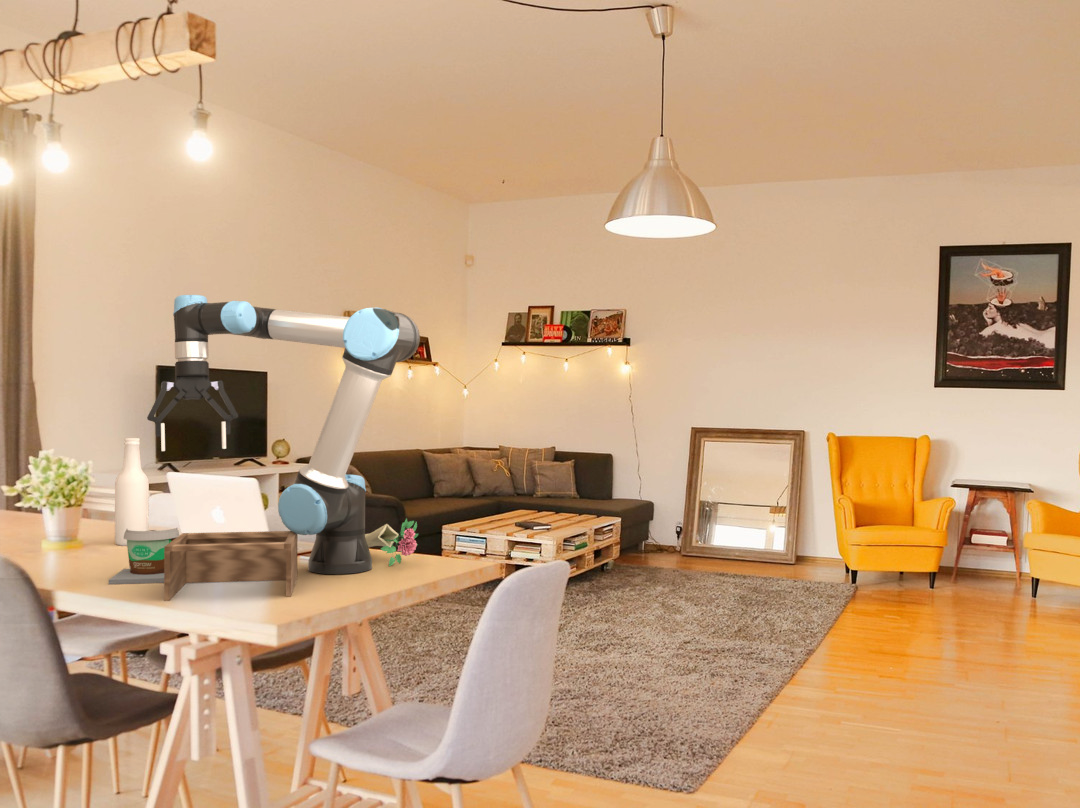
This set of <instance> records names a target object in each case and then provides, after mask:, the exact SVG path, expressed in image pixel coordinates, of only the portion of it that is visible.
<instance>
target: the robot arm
mask: <svg viewBox="0 0 1080 808" xmlns="http://www.w3.org/2000/svg"><path fill="white" fill-rule="evenodd" d="M173 300H174V302H173V303H174V304H173V314H172V315H173V322H174V323H173V325H174V359H175V360H177V361H175V363H174V370H175V371H174V372H175V373H174V374H175V377H174V378H175V380H174V382H170V381H166V380H163V381H162V382H161V386H160V392H159V393H158V396H157V397H156V399H155V401H154V403H153V405H152V406H151V409H150V411H149V413H148V415H147V417H146V418H147V419H146V420H148V421H150V422H153V423H154V424H155V436H156V438H160V441H161V442H160V443H161V444H160V445H161V447H160V448H161V452H165V451H166V433H165V432H166V431H165V430H166V428H165V423H164V422H162V421H163V420H164V419H165V418H166V416H167V415H168V414H169V413H170V412H171V411H172V410H173V409H174V407H175V406H176V405H177V404H178V403H179V402H180V401H181V399H183V400H185V401H187V400H202V399H204V400H205V401H206V402H207V403H208V404H209V405H210V406H211V407H212V408H213V409H214V410H215V411H216V413H218V415H220V417H221V418H222V419H223V420H224V421H221V423H220V425H221V449H223V450H225V449H227V435H231V433H232V432H231V431H232V430H231V429H232V427H231V423H232V420H235V419H237V418H239V414H238V412H237V411H236V409H235V407H234V405H233V403H232V401H231V400H230V398H229V396H228V394H227V392H226V390H225V387H224V382H223V380H221V379H220V380H218V381H211V379H210V365H209V363H210V362H208V361H207V360H209V358H210V357H209V336H211V335H235V336H243V337H250V338H256V339H262V340H276V341H285V342H293V343H302V344H309V345H317V346H325V347H326V346H328V347H335V348H343V349H344V352H343V353H342V357H341V358H342V361H343V363H344V365H345V366H344V368H345V369H344V371H343V374H342V376H341V378H340V381H339V383H338V387H337V389H336V391H335V395H334V397H333V399H332V401H331V402H332V403H331V405H330V408H329V410H328V412H327V415H326V417H325V421H324V424H323V426H322V428H321V431H320V433H319V437H318V438H317V441H316V445H315V446H314V449H313V452H312V454H311V456H310V459H309V463H308V464H305V465H303V466H301V467H300V468H299V469H298V472H297V475H296V477H295V480H294V482H293V484H292V485H289V486H288V487H286V488H285V489H284V490H283V491H282V493H281V494H280V496H279V499H278V504H277V509H278V516H279V517H280V519H281V523H283V525H284V526H285V527H286V529H288V531H292V532H294V533H296V534H297V535H301V536H308V535H309V536H313V535H315V539H314V540H315V541H314V543H313V546H312V550H311V553H310V555H309V558H308V562H307V563H308V571H309V572H311V573H315V574H321V575H322V574H323V575H346V574H347V575H348V574H356V573H357V574H359V573H364V572H368V571H370V570H372V568H373V558H372V556H371V551H370V549H369V548H370V547H369V548H368V545H367V542H366V539H365V534H366V493H367V489H366V481H365V478H364V477H363V476H362V475H358V474H347V471H348V469H349V466H350V464H351V461H352V459H353V457H354V454H355V451H356V449H357V446H358V444H359V442H360V438H361V435H362V434H363V430H364V428H365V426H366V423H367V420H368V418H369V414H370V413H371V410H372V407H373V404H374V402H375V399H376V396H377V394H378V392H379V389H380V386H381V384H382V381H384V380H386V379H387V378H389V377H392V375H393V372H394V369H395V366H396V364H397V363H401V362H403V361H406V360H409V359H410V358H411V357H412V356H413V355H414V354H415V353H416V352H417V350H418V348H419V345H420V342H421V341H420V339H421V335H420V330H419V328H418V326H417V324H416V322H415V321H414V320H413V319H412V318H411V317H410V316H408V315H406V314H404V313H402V312H397V311H394V310H392V311H391V310H389V309H386V308H382V307H367V308H365V307H364V308H362V309H359V310H357V311H356V312H355V313H353V314H352V315H351V316H341V315H333V314H332V315H331V314H325V313H324V314H323V313H315V312H304V311H295V310H285V309H275V308H269V307H268V308H267V307H258V306H253V305H251V303H250V302H248V301H243V300H242V301H241V300H239V301H238V300H231V301H225V302H224V301H222V302H208V298H207V297H206V296H204V295H202V294H201V295H200V294H180V295H177V296H176V297H175V298H174V299H173ZM211 387H213V389H214V390H216V391H217V392H218V393H219V395H220V397H221V399H222V401H223V402H224V405H225V407H226V408H227V410H228V411H229V414H228V413H227V412H225V410H224V409H223V408H222V407H221V406H220V405H219V404H218V403H217V402H216V400H215V399H214V398H212V396H211V395H210V394H209V393H208V392H209V391H210V389H211ZM172 388H174V390H175V391H176V392H177V394H176V395H175V396H174V398H173V399H171V401H170V402H169V403H168V405H167V406H166V407H165V408H164V409H163V411H161V412H160V414H159V415H158V416H155V415H156V413H157V411H158V409H159V407H160V405H161V403H162V402H163V399H164V397H165V395H166V393H167V392H168V391H170V390H171V389H172Z"/></svg>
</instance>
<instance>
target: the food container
mask: <svg viewBox="0 0 1080 808" xmlns="http://www.w3.org/2000/svg"><path fill="white" fill-rule="evenodd" d="M179 535H180V531H179V529H178V527H176V528H170V529H163V530H161V529H160V530H156V529H149V531H130V530H127V529H126V531H125V533H124V539H127V555H128V564H129V569H130V573H132V574H138V575H151V574H161V573H164V547H165V546H166V545H167V544H169V543H170V542H171V541H173V540H174V539H175V538H177V537H178V536H179Z"/></svg>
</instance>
